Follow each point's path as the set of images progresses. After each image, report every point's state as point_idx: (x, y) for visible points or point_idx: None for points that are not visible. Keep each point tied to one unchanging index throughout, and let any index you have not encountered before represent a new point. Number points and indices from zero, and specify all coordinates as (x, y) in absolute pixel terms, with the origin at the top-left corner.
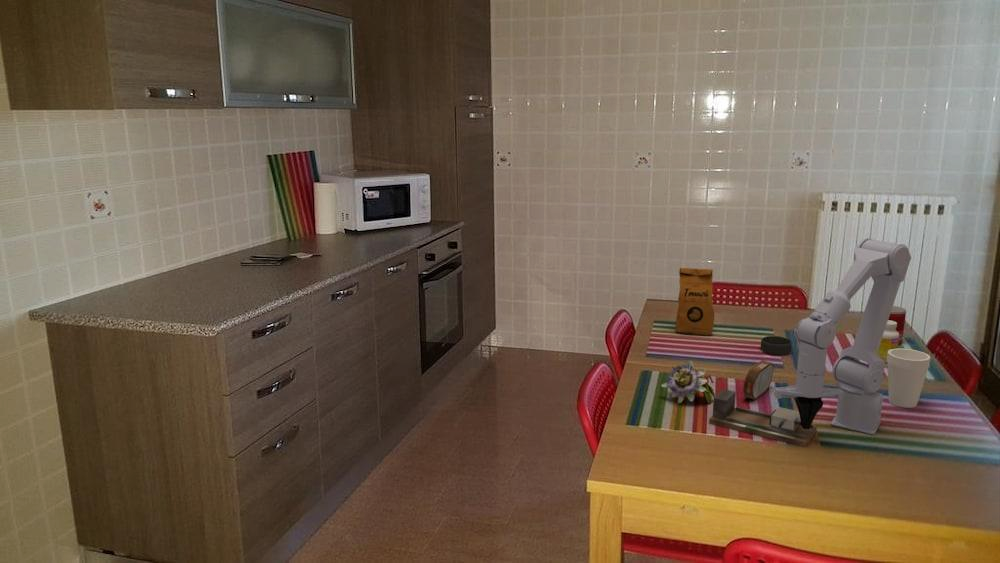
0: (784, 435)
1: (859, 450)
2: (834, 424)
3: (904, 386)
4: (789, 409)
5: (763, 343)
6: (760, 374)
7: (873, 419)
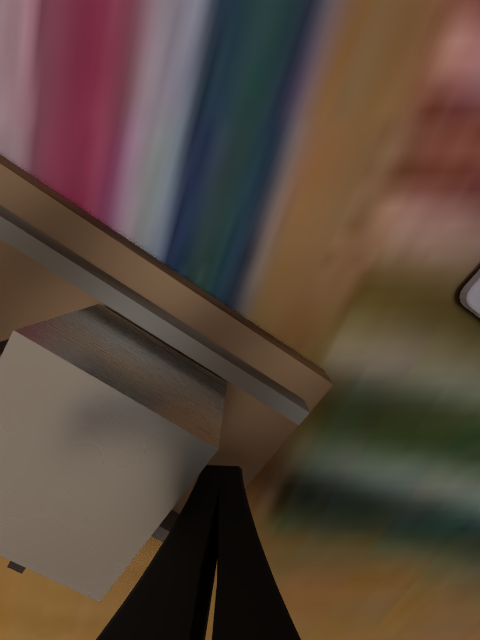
0: None
1: (420, 553)
2: (476, 314)
3: None
4: (115, 395)
5: None
6: None
7: None
